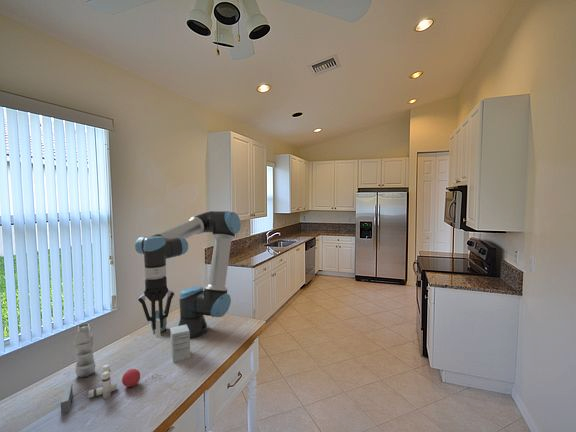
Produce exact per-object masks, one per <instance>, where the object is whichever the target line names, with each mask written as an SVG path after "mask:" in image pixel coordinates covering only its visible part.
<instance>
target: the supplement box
mask: <svg viewBox="0 0 576 432" xmlns="http://www.w3.org/2000/svg"><path fill="white" fill-rule="evenodd" d="M170 355H171V358H172V362H173V363H175V362H180V361H185V360H187V359H188V360H189V359H190V358H191V338H190V331H189V328H188V326H187V325H181V326H178V325H177V326H172V327H170Z"/></svg>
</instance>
